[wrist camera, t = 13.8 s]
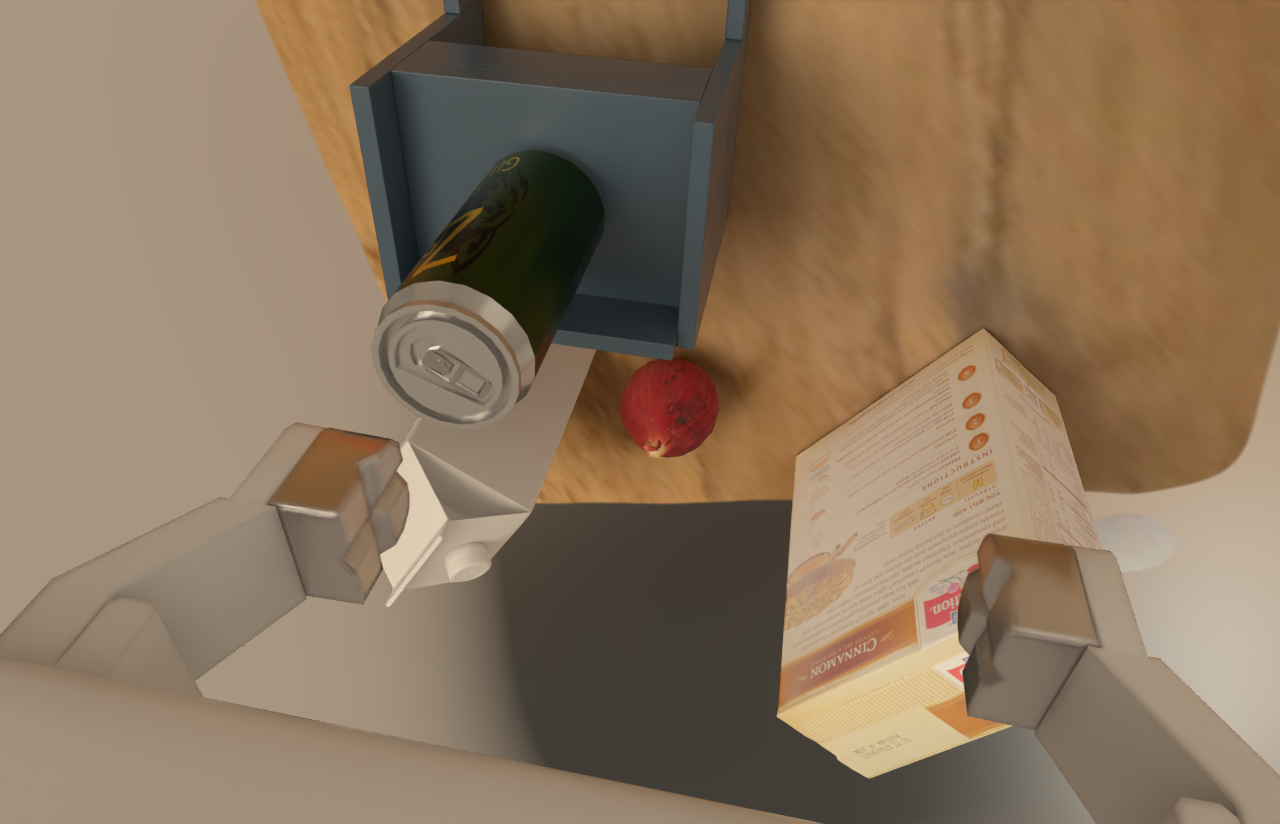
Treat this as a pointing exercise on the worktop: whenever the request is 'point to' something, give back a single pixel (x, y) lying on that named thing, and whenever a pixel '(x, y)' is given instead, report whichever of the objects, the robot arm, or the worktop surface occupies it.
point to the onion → (669, 407)
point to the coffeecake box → (914, 550)
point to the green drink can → (490, 293)
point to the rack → (579, 130)
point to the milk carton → (480, 479)
